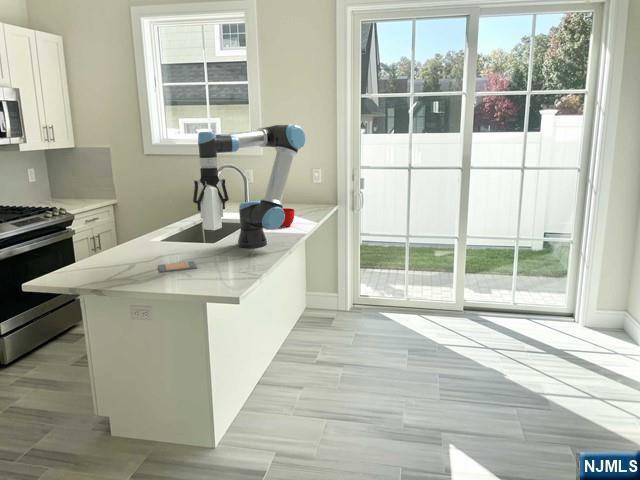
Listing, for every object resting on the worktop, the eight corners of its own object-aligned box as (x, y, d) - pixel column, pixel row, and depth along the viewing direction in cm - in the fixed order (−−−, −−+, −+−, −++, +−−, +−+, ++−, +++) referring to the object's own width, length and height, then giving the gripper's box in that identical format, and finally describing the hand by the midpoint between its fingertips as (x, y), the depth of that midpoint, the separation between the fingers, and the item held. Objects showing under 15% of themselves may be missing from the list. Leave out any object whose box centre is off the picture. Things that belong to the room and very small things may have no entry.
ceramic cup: (297, 222, 321) (296, 207, 318) (293, 228, 304) (292, 212, 302) (277, 222, 322) (276, 207, 320) (272, 228, 306) (271, 212, 303)
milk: (203, 229, 230) (199, 181, 224) (211, 226, 235) (208, 179, 230) (214, 230, 227) (210, 181, 222) (222, 227, 232) (219, 179, 227)
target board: (193, 262, 236) (193, 260, 236) (197, 268, 226) (196, 266, 226) (158, 266, 230) (158, 264, 230) (159, 272, 220) (159, 271, 220)
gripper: (185, 168, 217) (189, 220, 223) (234, 166, 225) (236, 216, 230) (183, 167, 224) (187, 217, 229) (230, 165, 231) (233, 214, 237)
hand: (212, 217), depth 230 cm, fingers closed on milk, 8 cm apart
